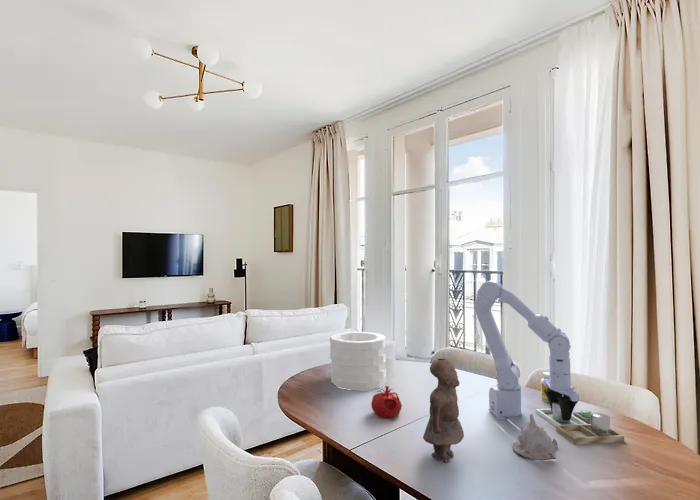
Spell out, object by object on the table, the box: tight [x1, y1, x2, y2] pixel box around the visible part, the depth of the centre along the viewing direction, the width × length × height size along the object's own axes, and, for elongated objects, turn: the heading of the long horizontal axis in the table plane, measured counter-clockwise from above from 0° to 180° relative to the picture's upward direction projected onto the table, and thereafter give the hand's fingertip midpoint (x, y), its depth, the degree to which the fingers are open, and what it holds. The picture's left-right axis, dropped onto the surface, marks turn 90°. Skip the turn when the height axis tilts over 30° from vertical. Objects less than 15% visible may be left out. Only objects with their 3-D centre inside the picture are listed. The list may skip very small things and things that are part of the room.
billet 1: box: [552, 401, 571, 424], centre depth 117 cm, size 5×5×6 cm
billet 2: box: [590, 412, 611, 436], centre depth 107 cm, size 5×5×6 cm
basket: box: [329, 331, 387, 391], centre depth 161 cm, size 25×24×19 cm
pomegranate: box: [370, 385, 403, 419], centre depth 125 cm, size 10×10×9 cm
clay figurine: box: [422, 358, 465, 464], centre depth 98 cm, size 13×10×25 cm
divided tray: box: [555, 424, 625, 445], centre depth 106 cm, size 14×8×2 cm, turn 94°
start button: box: [580, 409, 593, 418], centre depth 117 cm, size 3×3×2 cm
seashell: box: [512, 413, 559, 461], centre depth 101 cm, size 10×12×9 cm
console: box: [572, 411, 591, 424], centre depth 117 cm, size 5×5×2 cm
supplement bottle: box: [540, 371, 550, 403], centre depth 136 cm, size 5×5×10 cm
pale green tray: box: [535, 408, 587, 427], centre depth 117 cm, size 9×13×2 cm
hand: (561, 416), depth 117 cm, fingers closed on billet 1, 5 cm apart
